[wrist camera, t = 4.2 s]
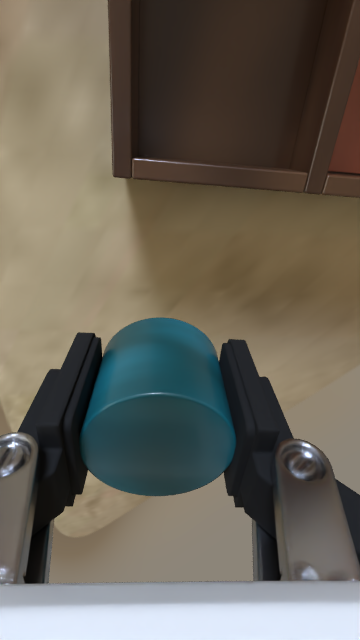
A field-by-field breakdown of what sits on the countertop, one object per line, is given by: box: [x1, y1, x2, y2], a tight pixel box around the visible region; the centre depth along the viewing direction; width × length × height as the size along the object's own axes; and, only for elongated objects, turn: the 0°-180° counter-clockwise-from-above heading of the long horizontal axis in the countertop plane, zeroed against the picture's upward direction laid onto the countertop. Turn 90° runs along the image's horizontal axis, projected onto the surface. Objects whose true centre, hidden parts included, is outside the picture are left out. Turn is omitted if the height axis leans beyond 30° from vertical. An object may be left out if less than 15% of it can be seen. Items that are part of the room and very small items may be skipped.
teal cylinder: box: [79, 318, 236, 496], centre depth 10 cm, size 4×4×4 cm
